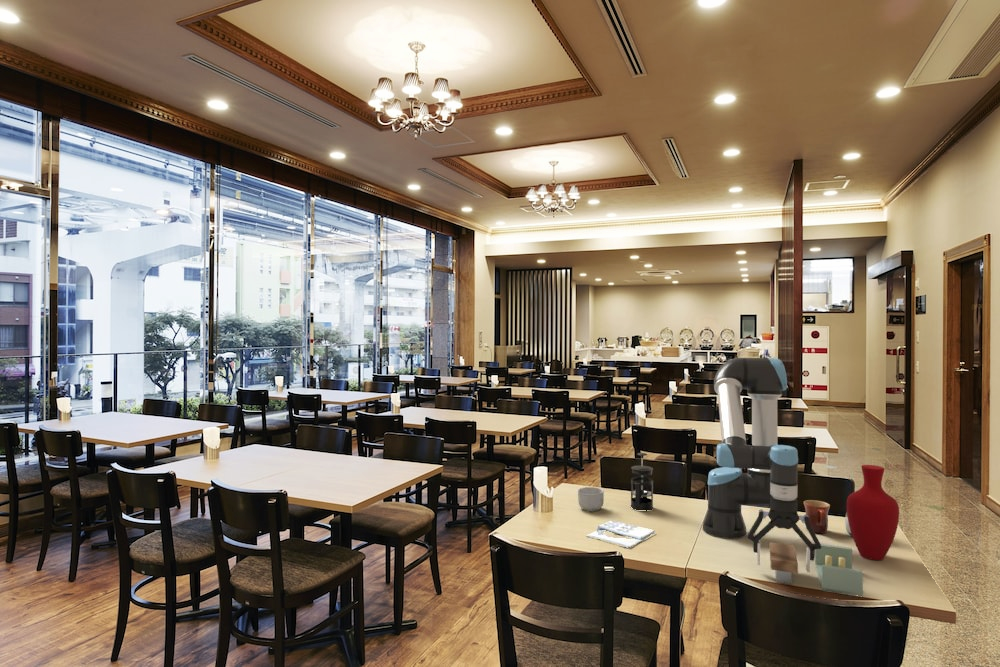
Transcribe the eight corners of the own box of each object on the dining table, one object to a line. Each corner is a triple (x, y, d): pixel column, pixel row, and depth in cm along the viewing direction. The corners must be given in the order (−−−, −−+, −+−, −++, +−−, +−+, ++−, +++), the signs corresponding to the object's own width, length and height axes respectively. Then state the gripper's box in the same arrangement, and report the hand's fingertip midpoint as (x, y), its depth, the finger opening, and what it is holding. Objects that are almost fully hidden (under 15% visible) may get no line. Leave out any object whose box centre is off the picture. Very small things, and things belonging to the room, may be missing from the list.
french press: (634, 503, 254) (635, 449, 253) (656, 506, 249) (656, 452, 249) (626, 510, 243) (626, 455, 243) (648, 514, 239) (649, 457, 238)
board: (771, 569, 174) (771, 559, 174) (769, 551, 188) (769, 542, 187) (797, 573, 171) (797, 563, 171) (794, 555, 185) (794, 545, 185)
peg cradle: (822, 590, 170) (822, 566, 170) (815, 564, 188) (815, 543, 188) (862, 597, 166) (862, 572, 166) (851, 570, 184) (851, 547, 184)
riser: (776, 582, 176) (776, 567, 175) (775, 569, 185) (775, 555, 185) (791, 584, 174) (791, 569, 174) (789, 571, 183) (789, 557, 183)
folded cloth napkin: (656, 535, 216) (656, 529, 216) (628, 551, 201) (628, 545, 201) (611, 523, 229) (611, 518, 229) (582, 537, 214) (582, 531, 214)
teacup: (605, 513, 240) (605, 493, 239) (578, 513, 240) (579, 493, 240) (600, 503, 254) (600, 484, 253) (575, 502, 254) (575, 484, 254)
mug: (800, 526, 225) (800, 499, 225) (825, 527, 223) (825, 500, 223) (810, 537, 213) (810, 509, 213) (836, 539, 211) (836, 510, 211)
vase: (842, 545, 205) (843, 459, 204) (892, 552, 199) (893, 463, 199) (849, 561, 191) (850, 469, 191) (903, 568, 185) (904, 474, 185)
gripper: (739, 495, 180) (738, 564, 181) (832, 505, 171) (831, 578, 171) (739, 489, 187) (739, 555, 188) (828, 498, 178) (828, 568, 178)
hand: (783, 566), depth 179 cm, fingers open, 13 cm apart
